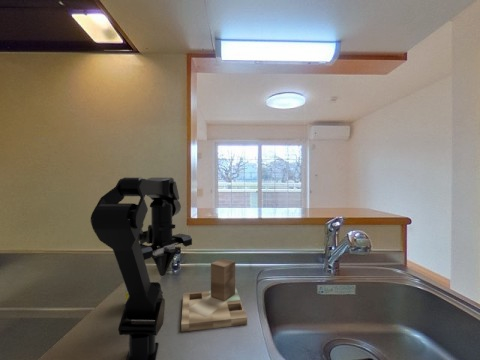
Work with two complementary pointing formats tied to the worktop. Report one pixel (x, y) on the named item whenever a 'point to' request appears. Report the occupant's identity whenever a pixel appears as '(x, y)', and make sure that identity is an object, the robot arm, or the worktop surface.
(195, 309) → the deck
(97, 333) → the worktop surface
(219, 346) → the worktop surface
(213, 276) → the walnut box
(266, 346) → the worktop surface
